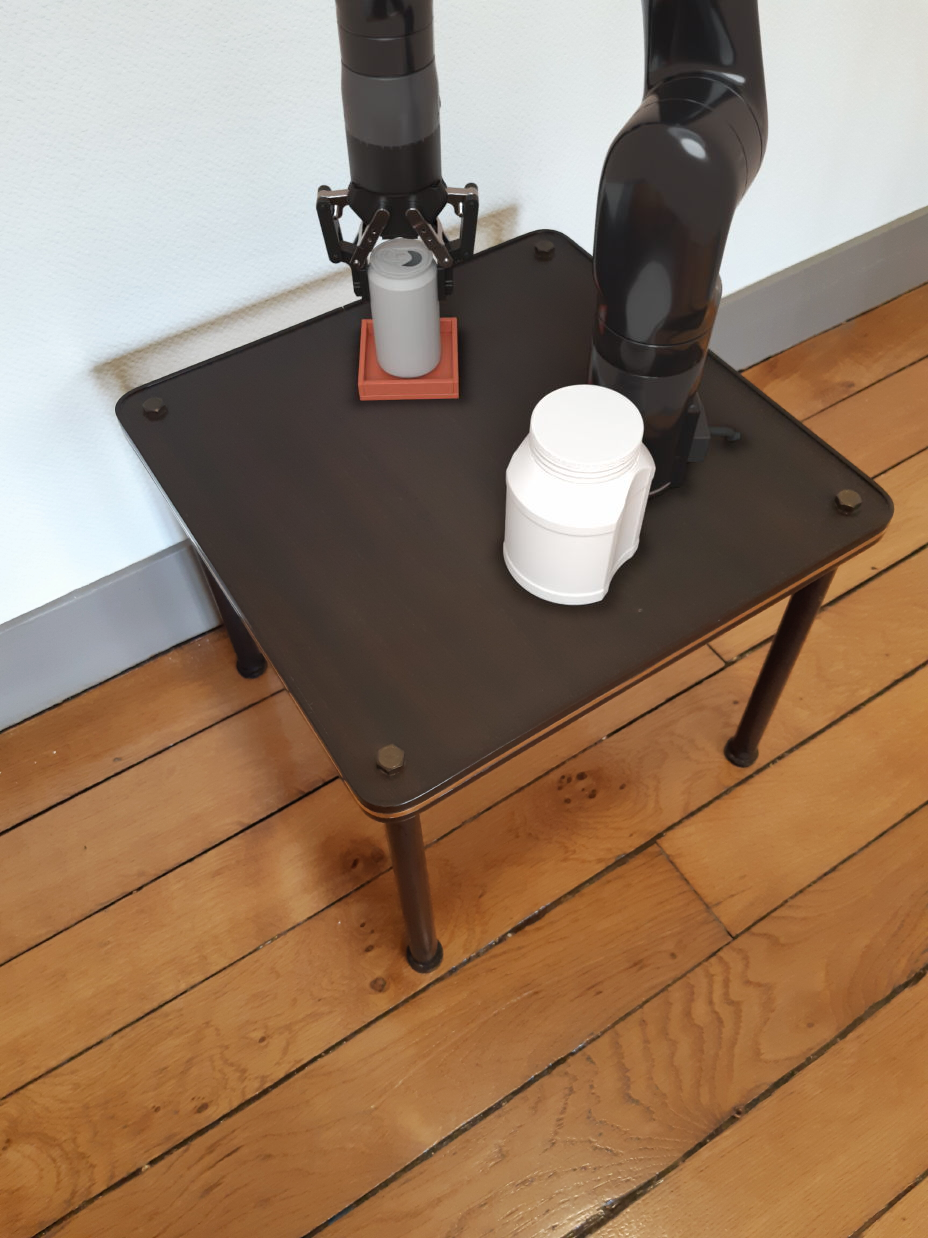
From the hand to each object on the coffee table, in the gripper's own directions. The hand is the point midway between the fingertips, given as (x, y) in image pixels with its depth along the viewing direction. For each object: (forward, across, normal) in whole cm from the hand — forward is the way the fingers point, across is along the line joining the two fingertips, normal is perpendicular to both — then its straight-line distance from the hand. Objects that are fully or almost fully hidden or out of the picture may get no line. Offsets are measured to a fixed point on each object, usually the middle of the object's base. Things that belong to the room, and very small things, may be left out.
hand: (404, 295), depth 87 cm
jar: (+8, +14, -24) cm, 29 cm away
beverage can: (+8, 0, 0) cm, 8 cm away
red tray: (+8, 0, 0) cm, 8 cm away
